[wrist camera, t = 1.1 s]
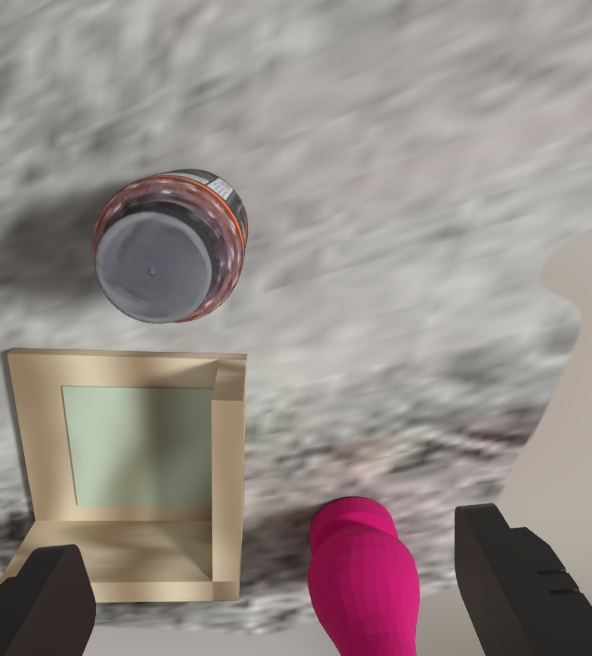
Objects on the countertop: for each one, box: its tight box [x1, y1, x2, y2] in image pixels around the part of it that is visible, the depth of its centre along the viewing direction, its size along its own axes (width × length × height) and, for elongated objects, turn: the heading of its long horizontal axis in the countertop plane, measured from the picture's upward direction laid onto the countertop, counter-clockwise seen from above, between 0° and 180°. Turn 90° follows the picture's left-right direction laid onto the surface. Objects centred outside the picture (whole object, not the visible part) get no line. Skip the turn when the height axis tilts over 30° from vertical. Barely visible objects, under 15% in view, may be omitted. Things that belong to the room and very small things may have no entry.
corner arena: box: [0, 348, 247, 602], centre depth 29 cm, size 14×14×6 cm
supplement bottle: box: [92, 169, 248, 324], centre depth 22 cm, size 6×6×11 cm
